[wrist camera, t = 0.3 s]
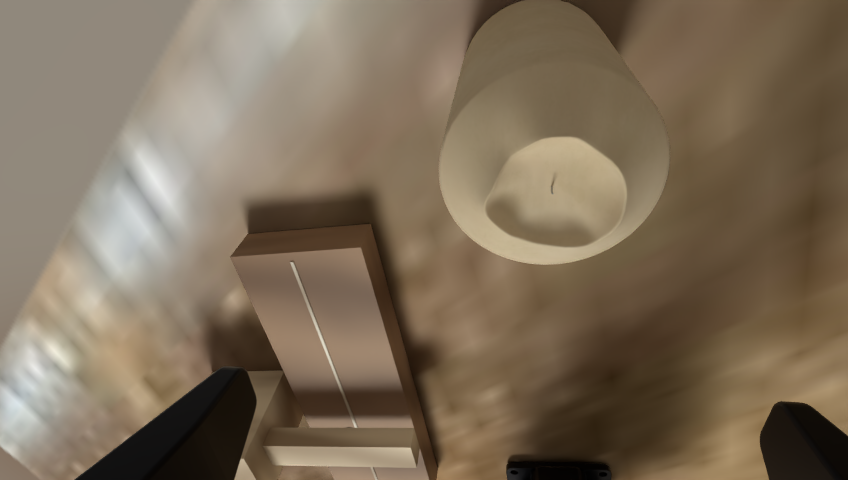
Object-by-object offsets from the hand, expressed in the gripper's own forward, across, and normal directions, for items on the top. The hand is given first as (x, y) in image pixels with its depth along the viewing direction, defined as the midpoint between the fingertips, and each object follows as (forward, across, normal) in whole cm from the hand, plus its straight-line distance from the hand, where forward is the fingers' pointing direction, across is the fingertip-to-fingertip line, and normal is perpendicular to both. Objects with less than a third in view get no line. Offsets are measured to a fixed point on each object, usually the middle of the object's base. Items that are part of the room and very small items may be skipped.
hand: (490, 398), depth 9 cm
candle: (+14, -1, -2) cm, 15 cm away
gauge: (+14, +11, +18) cm, 25 cm away
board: (+14, +8, +16) cm, 23 cm away
